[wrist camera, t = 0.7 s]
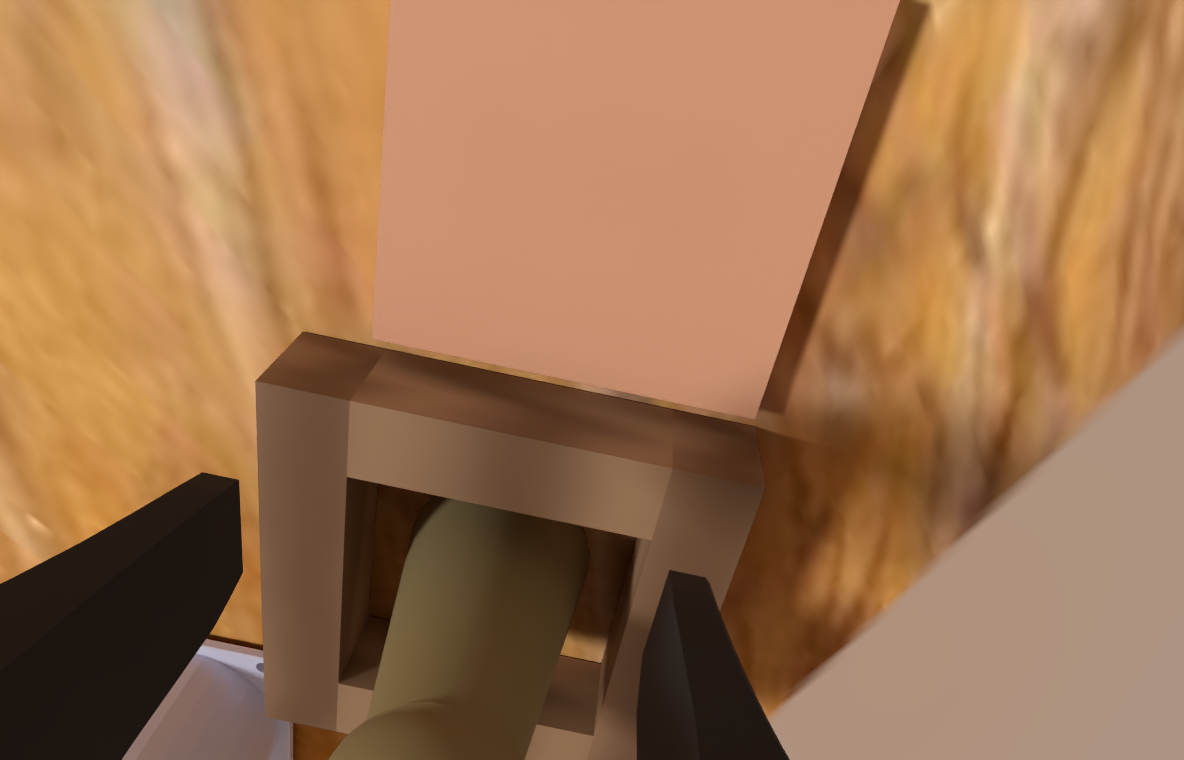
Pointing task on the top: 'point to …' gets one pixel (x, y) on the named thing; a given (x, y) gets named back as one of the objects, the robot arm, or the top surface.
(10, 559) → the top surface
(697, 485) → the walnut holder
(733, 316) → the terracotta tile
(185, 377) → the top surface
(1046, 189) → the top surface
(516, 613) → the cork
